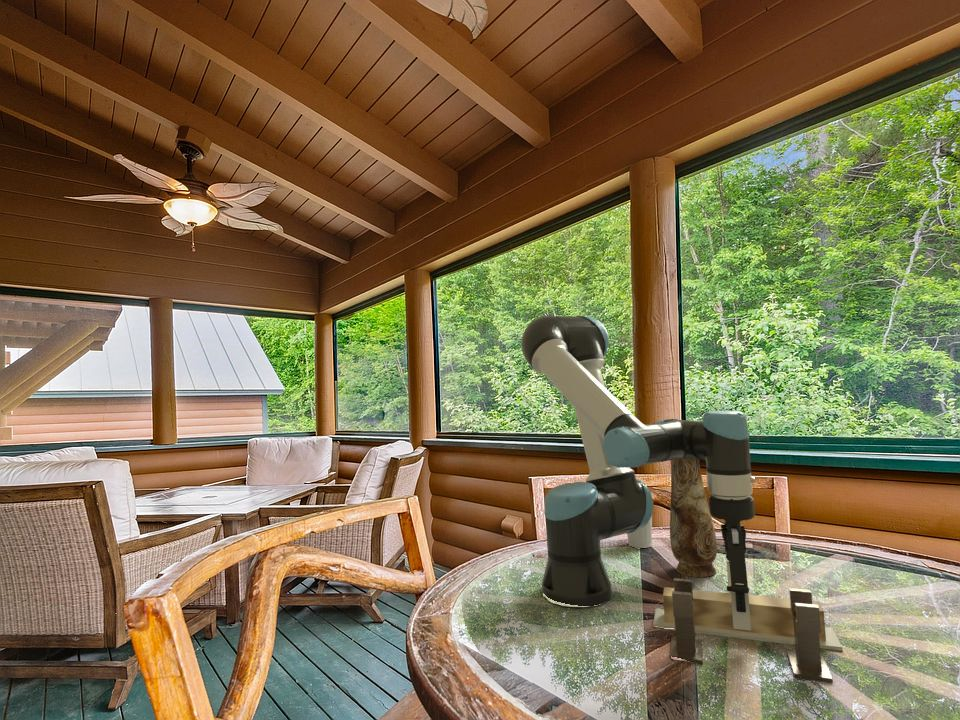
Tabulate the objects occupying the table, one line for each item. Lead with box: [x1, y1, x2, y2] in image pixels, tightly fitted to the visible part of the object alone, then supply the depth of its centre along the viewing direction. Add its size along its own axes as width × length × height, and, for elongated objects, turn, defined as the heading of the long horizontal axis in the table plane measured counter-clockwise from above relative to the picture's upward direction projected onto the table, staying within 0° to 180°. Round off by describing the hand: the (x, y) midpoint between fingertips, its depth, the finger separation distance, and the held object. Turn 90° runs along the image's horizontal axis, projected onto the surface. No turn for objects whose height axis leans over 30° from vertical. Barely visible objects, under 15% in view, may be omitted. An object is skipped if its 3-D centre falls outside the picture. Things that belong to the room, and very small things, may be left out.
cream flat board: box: [652, 608, 843, 652], centre depth 96 cm, size 30×7×1 cm, turn 67°
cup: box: [626, 515, 653, 549], centre depth 145 cm, size 8×8×12 cm
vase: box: [669, 458, 718, 578], centre depth 125 cm, size 10×11×30 cm
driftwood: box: [717, 542, 779, 561], centre depth 136 cm, size 21×7×2 cm, turn 46°
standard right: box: [786, 587, 834, 684], centre depth 83 cm, size 5×7×11 cm
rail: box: [662, 586, 826, 641], centre depth 96 cm, size 26×4×5 cm, turn 67°
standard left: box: [669, 577, 704, 665], centre depth 90 cm, size 5×7×11 cm
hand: (739, 611), depth 96 cm, fingers open, 13 cm apart
